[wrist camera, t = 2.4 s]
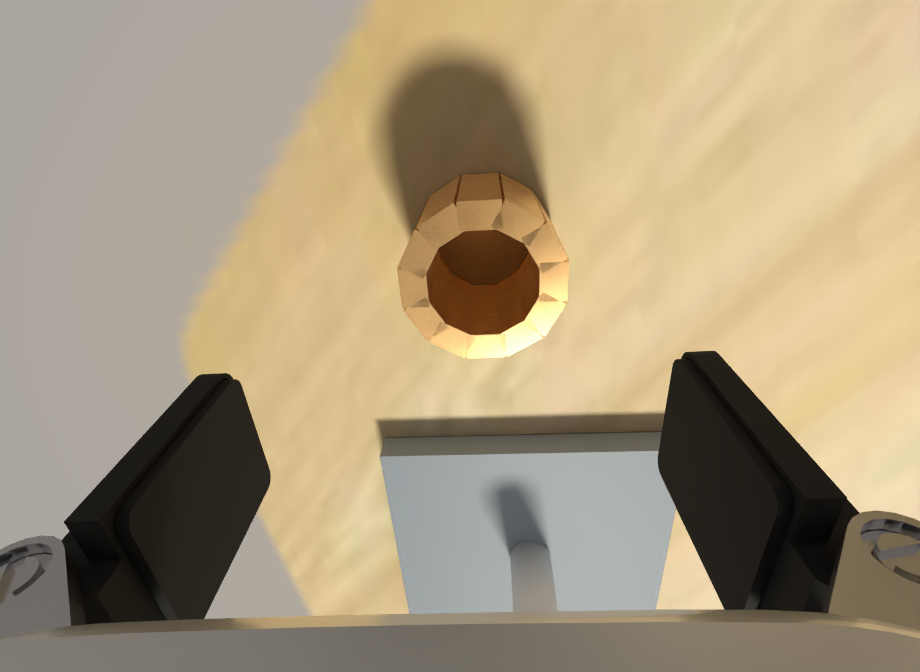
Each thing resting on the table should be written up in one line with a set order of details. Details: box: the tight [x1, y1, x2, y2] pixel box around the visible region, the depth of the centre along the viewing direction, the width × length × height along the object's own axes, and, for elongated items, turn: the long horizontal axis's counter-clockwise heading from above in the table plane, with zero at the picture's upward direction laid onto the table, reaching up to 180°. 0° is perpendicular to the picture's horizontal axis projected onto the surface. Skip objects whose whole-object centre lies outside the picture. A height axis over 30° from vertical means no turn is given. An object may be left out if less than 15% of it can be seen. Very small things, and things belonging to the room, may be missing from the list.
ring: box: [397, 172, 569, 358], centre depth 19 cm, size 6×6×5 cm
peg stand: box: [380, 432, 676, 614], centre depth 27 cm, size 16×16×8 cm
